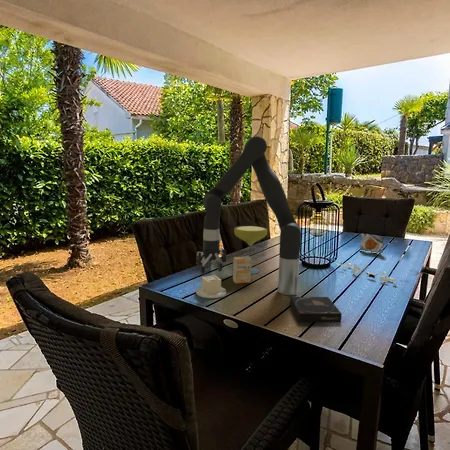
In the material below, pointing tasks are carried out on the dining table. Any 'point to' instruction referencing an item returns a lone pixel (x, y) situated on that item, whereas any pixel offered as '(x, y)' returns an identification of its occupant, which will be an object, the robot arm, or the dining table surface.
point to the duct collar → (211, 285)
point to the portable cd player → (315, 309)
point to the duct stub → (210, 296)
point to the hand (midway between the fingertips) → (211, 272)
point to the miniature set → (369, 273)
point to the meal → (372, 243)
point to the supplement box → (242, 269)
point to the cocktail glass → (250, 236)
